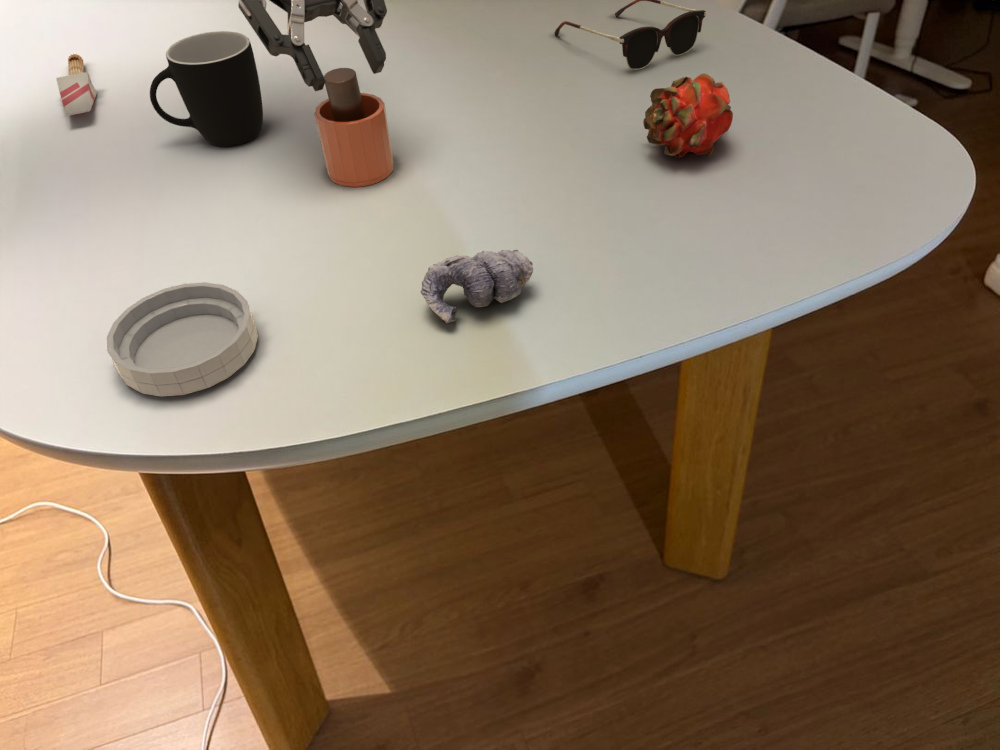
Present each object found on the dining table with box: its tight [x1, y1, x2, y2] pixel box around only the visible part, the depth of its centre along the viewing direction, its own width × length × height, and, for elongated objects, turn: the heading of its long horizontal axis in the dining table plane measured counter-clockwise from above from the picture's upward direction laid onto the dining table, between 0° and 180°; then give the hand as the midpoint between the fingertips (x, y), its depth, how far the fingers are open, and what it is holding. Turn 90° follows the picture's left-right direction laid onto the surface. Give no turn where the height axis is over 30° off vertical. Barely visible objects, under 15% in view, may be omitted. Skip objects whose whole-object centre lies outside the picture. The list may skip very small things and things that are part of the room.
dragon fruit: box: [642, 73, 734, 159], centre depth 84 cm, size 8×8×12 cm
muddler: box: [323, 67, 366, 122], centre depth 82 cm, size 3×3×10 cm
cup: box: [314, 92, 394, 188], centre depth 83 cm, size 7×7×7 cm
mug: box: [149, 30, 264, 147], centre depth 89 cm, size 12×9×10 cm
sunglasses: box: [554, 0, 707, 70], centre depth 106 cm, size 14×16×5 cm
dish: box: [106, 281, 259, 397], centre depth 64 cm, size 11×11×3 cm
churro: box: [55, 53, 98, 117], centre depth 102 cm, size 4×3×20 cm
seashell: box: [420, 249, 534, 324], centre depth 67 cm, size 5×5×10 cm
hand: (350, 77), depth 77 cm, fingers open, 5 cm apart
